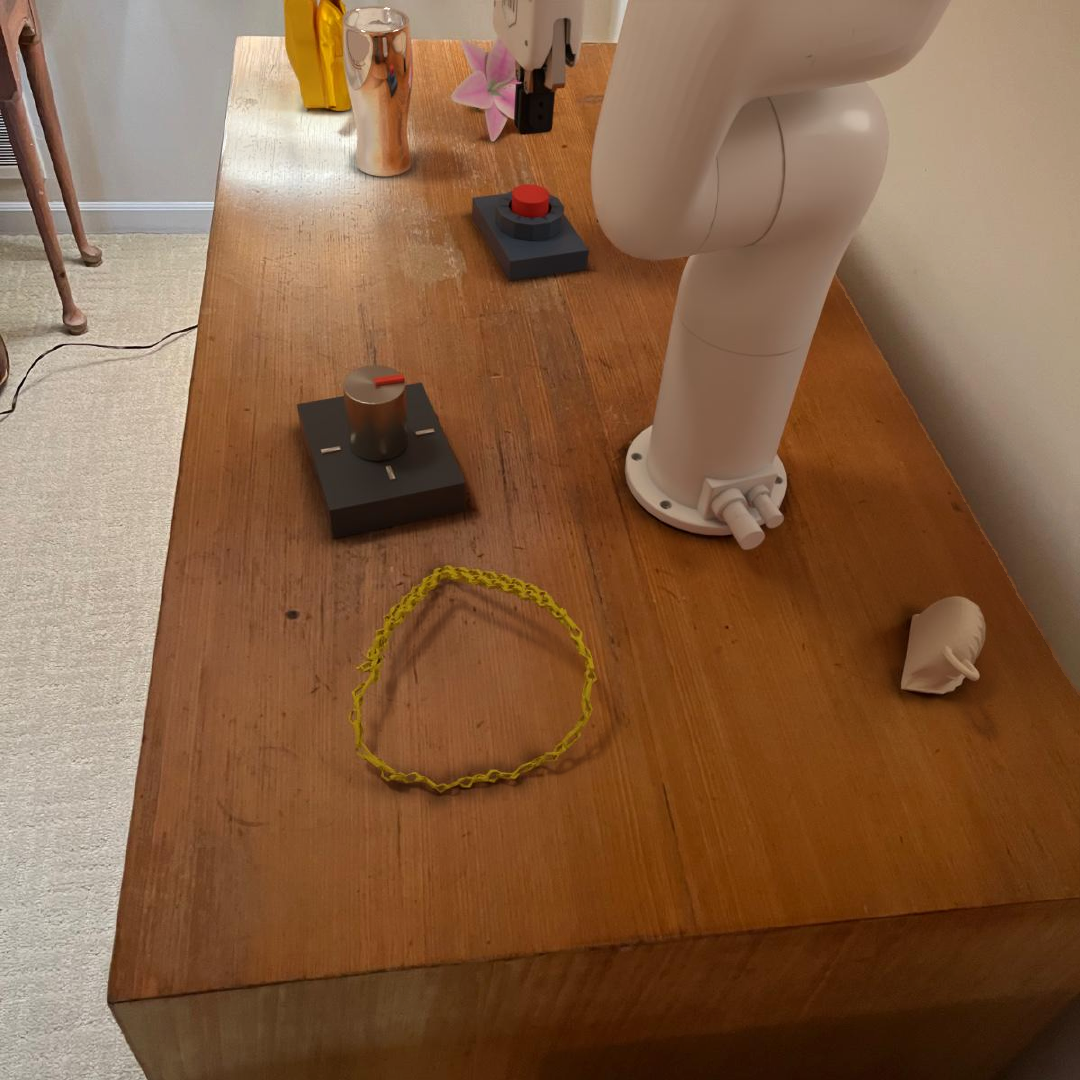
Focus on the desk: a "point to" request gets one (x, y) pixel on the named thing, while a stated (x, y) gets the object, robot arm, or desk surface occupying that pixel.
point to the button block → (529, 238)
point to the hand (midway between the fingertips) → (532, 128)
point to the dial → (376, 412)
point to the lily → (489, 84)
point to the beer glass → (379, 86)
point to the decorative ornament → (943, 646)
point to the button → (530, 201)
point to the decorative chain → (411, 602)
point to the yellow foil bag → (317, 51)
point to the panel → (381, 469)
